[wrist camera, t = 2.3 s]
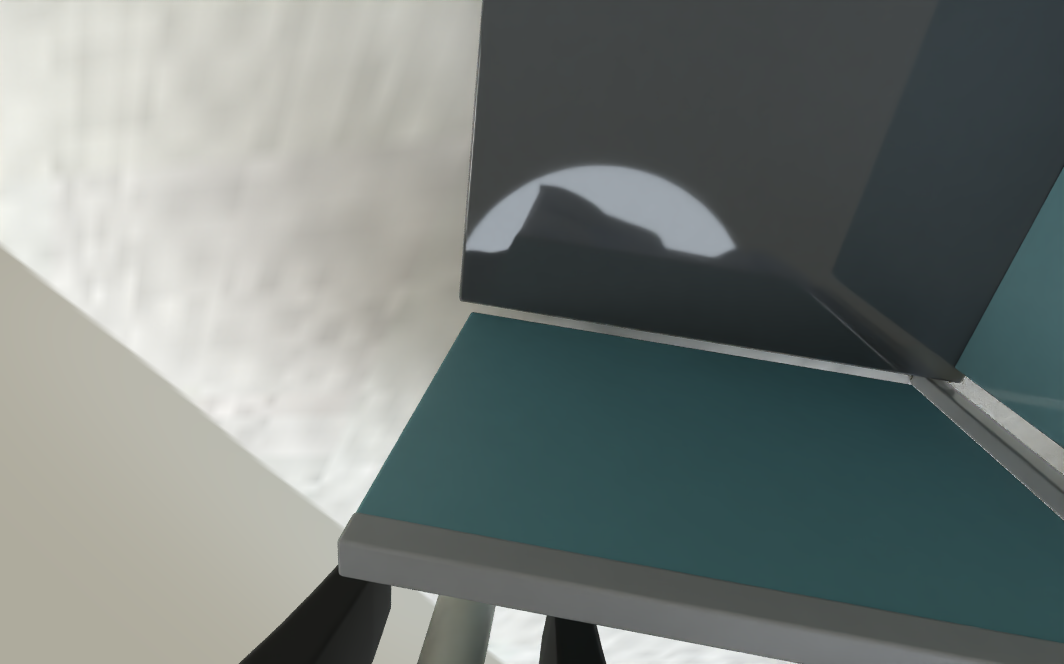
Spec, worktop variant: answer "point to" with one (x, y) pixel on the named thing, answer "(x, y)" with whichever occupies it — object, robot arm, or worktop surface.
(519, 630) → the worktop surface
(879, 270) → the teal open box
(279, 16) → the worktop surface
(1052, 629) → the teal shelf
